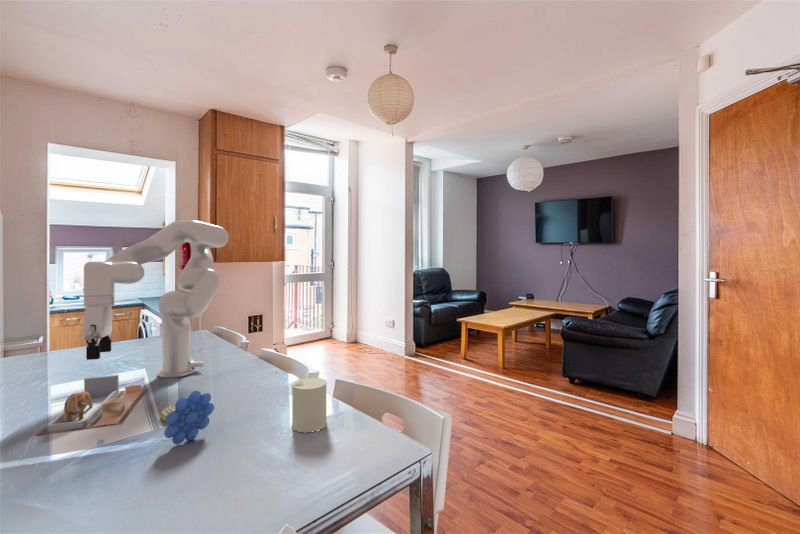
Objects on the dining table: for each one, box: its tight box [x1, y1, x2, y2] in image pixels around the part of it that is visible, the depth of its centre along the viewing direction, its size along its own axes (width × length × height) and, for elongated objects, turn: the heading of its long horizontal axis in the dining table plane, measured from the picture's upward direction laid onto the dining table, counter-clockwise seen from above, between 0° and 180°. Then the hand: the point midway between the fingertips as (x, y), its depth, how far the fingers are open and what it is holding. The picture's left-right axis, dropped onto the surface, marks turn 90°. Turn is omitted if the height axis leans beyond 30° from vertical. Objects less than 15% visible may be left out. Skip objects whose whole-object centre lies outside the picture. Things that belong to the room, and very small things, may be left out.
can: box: [291, 377, 328, 434], centre depth 101 cm, size 9×9×12 cm
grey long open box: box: [44, 374, 120, 432], centre depth 108 cm, size 8×26×7 cm, turn 22°
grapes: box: [163, 390, 215, 445], centre depth 93 cm, size 12×7×12 cm, turn 143°
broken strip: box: [95, 383, 143, 426], centre depth 111 cm, size 5×26×3 cm, turn 21°
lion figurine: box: [63, 391, 94, 422], centre depth 104 cm, size 15×5×9 cm, turn 35°
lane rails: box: [35, 387, 149, 436], centre depth 109 cm, size 18×28×1 cm, turn 22°
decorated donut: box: [160, 403, 176, 423], centre depth 105 cm, size 10×11×4 cm
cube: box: [102, 396, 126, 418], centre depth 105 cm, size 4×4×4 cm
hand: (99, 355), depth 118 cm, fingers open, 9 cm apart
